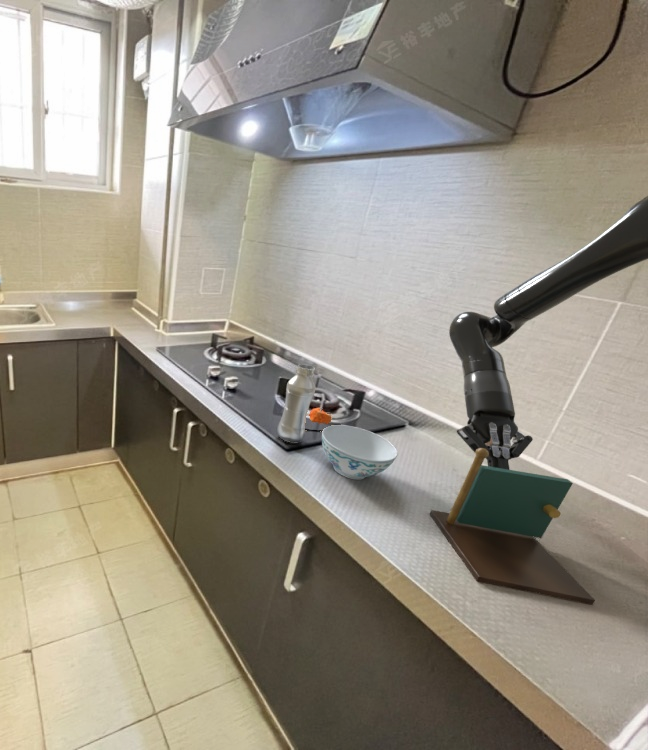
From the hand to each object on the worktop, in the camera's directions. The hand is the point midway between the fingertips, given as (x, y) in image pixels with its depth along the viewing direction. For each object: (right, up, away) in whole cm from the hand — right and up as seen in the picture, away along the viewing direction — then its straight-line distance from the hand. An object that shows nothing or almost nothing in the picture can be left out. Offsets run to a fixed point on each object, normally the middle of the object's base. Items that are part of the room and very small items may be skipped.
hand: (500, 478), depth 76 cm
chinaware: (-23, -2, +13) cm, 26 cm away
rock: (-20, +7, +35) cm, 41 cm away
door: (-4, -8, -5) cm, 11 cm away
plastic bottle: (-33, +3, +24) cm, 41 cm away
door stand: (-7, -11, -8) cm, 15 cm away
